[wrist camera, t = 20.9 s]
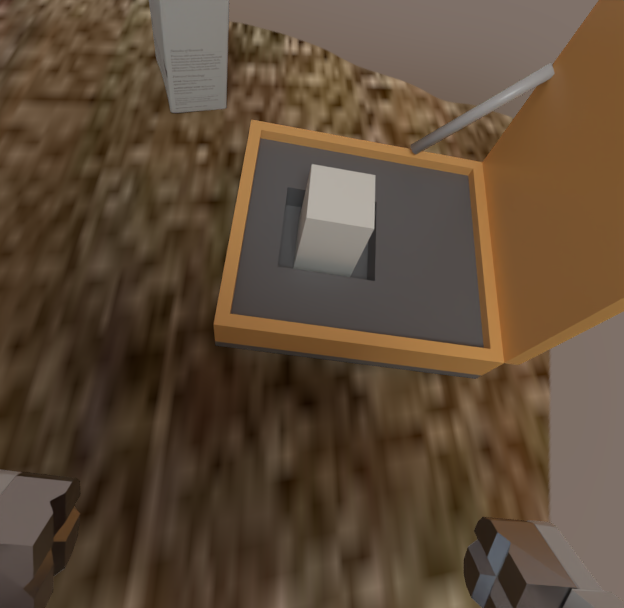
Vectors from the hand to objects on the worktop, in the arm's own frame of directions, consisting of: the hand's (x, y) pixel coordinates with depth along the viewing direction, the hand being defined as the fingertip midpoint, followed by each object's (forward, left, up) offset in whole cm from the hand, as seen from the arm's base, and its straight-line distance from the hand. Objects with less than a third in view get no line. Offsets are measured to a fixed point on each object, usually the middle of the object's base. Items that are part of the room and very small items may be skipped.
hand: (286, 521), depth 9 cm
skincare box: (-11, +40, -25) cm, 49 cm away
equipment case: (+7, +22, -25) cm, 34 cm away
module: (+4, +22, -24) cm, 33 cm away
